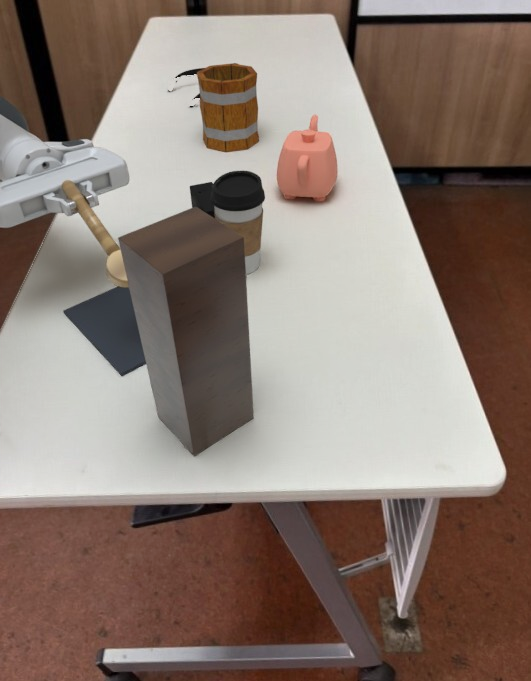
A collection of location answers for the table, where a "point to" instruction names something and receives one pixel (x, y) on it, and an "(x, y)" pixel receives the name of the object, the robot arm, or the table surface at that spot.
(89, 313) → the mat
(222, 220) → the coffee cup
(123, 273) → the spoon
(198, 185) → the digital camera
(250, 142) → the wooden barrel
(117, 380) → the table surface
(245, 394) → the stand
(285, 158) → the teapot
